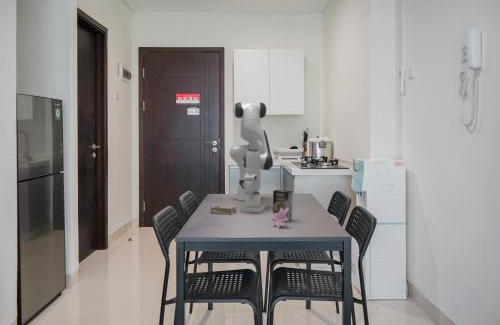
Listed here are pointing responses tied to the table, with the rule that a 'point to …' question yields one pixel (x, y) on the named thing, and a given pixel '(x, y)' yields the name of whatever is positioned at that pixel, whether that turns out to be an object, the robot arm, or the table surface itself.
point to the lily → (280, 217)
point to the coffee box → (282, 202)
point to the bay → (223, 210)
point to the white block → (255, 200)
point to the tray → (253, 209)
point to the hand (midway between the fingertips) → (253, 198)
